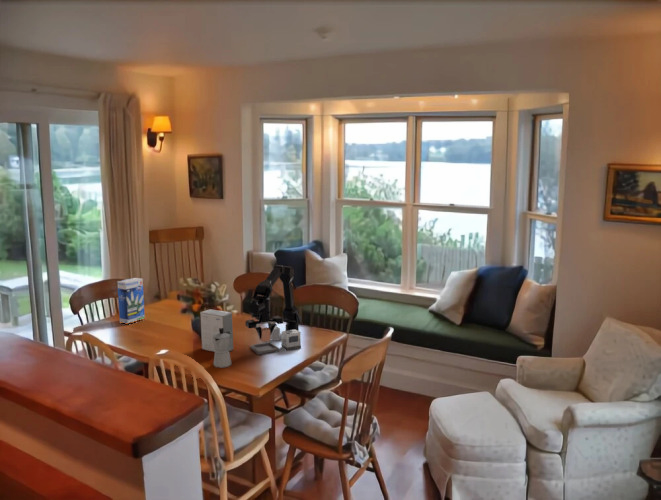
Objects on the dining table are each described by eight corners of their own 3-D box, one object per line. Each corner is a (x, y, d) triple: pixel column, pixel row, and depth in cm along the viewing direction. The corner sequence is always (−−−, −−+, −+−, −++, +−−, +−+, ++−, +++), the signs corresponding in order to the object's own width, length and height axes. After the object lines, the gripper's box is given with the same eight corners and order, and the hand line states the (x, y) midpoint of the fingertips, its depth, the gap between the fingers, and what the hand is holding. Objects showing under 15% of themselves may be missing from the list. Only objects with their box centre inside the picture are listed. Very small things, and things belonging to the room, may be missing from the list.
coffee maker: (224, 370, 264) (223, 333, 261) (207, 368, 267) (206, 331, 264) (238, 359, 278) (237, 324, 275) (222, 357, 281) (221, 322, 278)
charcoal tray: (270, 345, 299) (270, 341, 299) (278, 351, 289) (278, 348, 289) (251, 348, 294) (251, 345, 294) (258, 354, 284) (258, 351, 284)
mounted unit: (295, 344, 300) (295, 329, 299) (300, 348, 294) (300, 332, 293) (281, 346, 296) (281, 331, 295) (286, 350, 290) (286, 334, 289)
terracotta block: (267, 338, 294) (267, 327, 293) (270, 340, 290) (270, 329, 289) (259, 339, 292) (258, 328, 291) (262, 342, 288) (262, 330, 287)
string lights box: (127, 325, 333) (124, 282, 329) (119, 323, 337) (116, 281, 333) (145, 319, 344) (143, 278, 340) (137, 318, 348) (134, 277, 344)
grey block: (276, 336, 313) (276, 326, 312) (279, 338, 309) (279, 328, 308) (269, 337, 311) (269, 327, 310) (272, 340, 307) (272, 329, 306)
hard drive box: (233, 350, 291) (232, 312, 288) (224, 354, 285) (222, 316, 282) (211, 344, 299) (209, 308, 296) (201, 349, 293) (199, 312, 289)
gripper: (275, 302, 299) (275, 331, 302) (241, 307, 291) (242, 336, 293) (283, 307, 290) (283, 336, 292) (248, 312, 281) (249, 342, 284)
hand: (264, 337), depth 291 cm, fingers closed on terracotta block, 4 cm apart
